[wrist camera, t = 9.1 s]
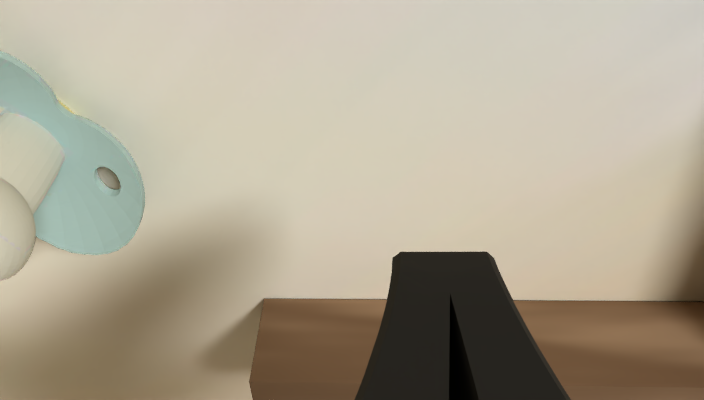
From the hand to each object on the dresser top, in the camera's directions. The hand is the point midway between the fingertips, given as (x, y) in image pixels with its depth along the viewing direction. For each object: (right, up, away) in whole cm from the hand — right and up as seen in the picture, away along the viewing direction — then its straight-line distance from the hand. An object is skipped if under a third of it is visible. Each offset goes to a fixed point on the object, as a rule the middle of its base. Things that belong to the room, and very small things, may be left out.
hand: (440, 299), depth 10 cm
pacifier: (-11, +3, +10) cm, 15 cm away
